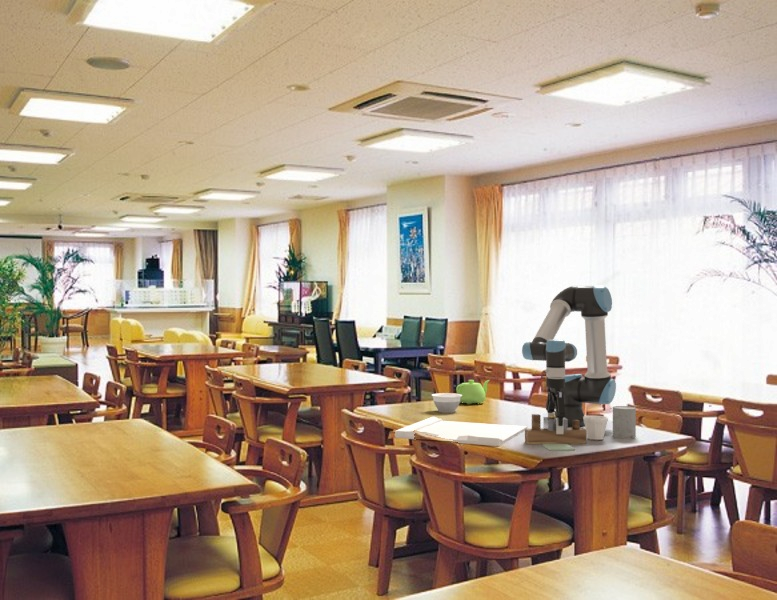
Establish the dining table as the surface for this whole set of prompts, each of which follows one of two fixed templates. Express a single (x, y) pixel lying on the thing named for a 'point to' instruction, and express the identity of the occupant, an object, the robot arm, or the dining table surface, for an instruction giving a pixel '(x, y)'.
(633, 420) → the grey cylindrical container
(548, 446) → the mat
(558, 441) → the body
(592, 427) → the cup
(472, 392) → the teapot
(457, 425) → the white flat slab
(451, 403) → the bowl
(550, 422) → the lever cap
